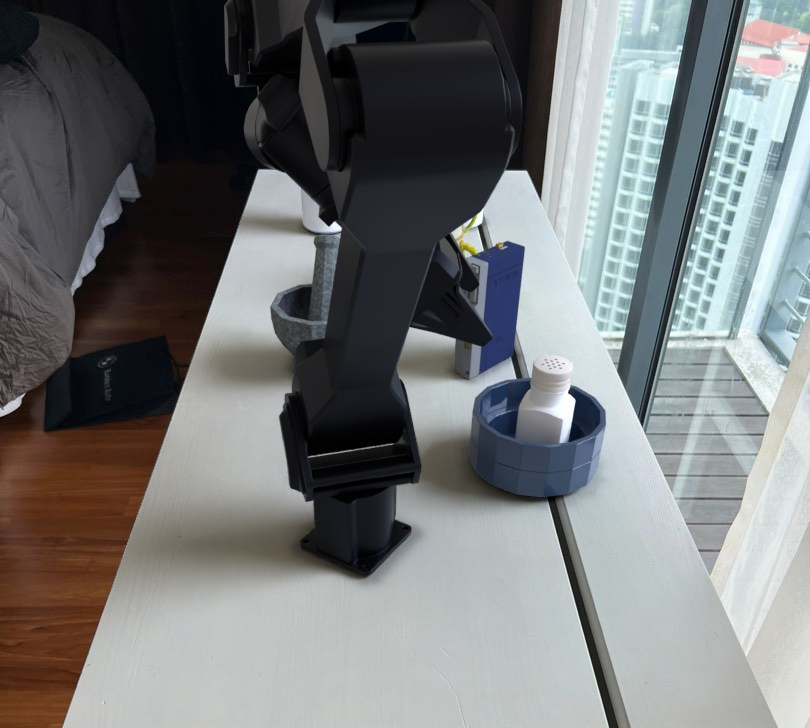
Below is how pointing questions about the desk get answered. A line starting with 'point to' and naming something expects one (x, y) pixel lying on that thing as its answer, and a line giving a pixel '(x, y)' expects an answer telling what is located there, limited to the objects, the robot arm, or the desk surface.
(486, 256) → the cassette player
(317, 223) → the can
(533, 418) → the pepper shaker
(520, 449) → the bowl
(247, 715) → the desk surface
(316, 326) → the mortar and pestle
